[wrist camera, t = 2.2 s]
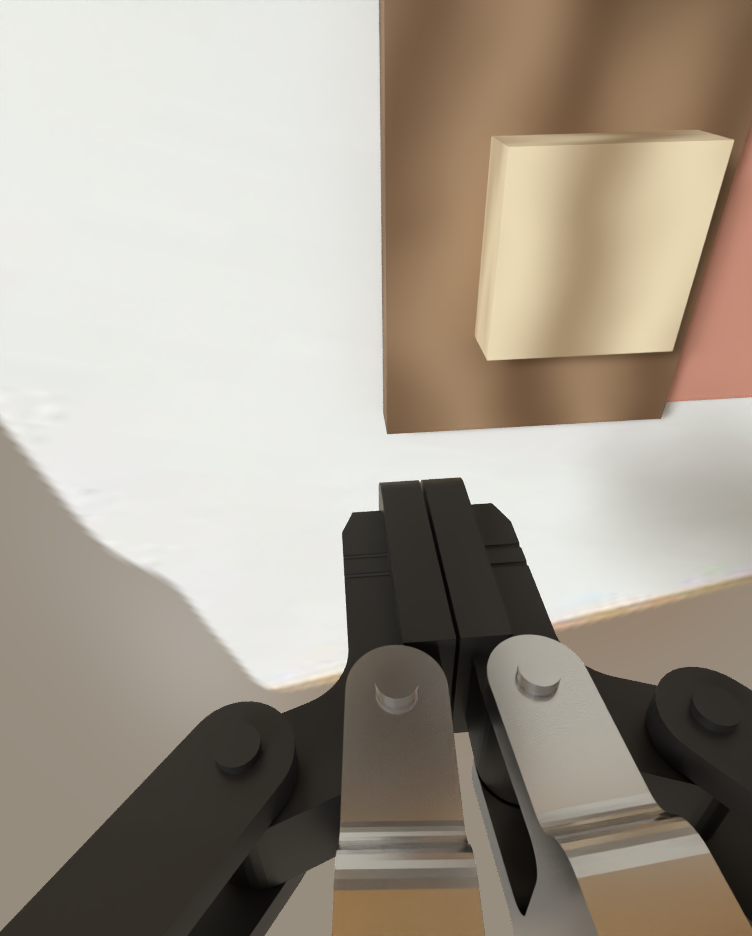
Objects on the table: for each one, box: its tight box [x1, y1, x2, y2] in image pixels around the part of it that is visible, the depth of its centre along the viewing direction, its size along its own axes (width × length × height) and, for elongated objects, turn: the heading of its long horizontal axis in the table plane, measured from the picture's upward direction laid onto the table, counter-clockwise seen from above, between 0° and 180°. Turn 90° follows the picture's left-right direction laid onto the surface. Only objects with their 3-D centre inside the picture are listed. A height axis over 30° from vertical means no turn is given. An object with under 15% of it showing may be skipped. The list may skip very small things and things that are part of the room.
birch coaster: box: [475, 130, 734, 361], centre depth 24 cm, size 8×8×2 cm
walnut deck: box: [379, 0, 752, 434], centre depth 26 cm, size 14×18×2 cm
